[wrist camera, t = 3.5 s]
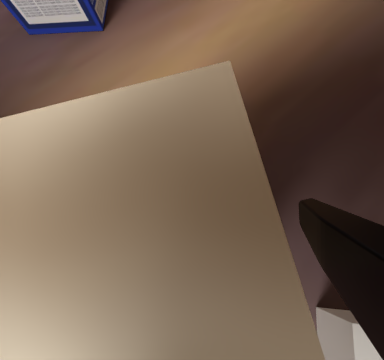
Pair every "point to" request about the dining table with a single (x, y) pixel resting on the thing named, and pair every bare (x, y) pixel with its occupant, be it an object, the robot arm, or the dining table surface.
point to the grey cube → (343, 336)
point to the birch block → (145, 230)
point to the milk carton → (58, 15)
